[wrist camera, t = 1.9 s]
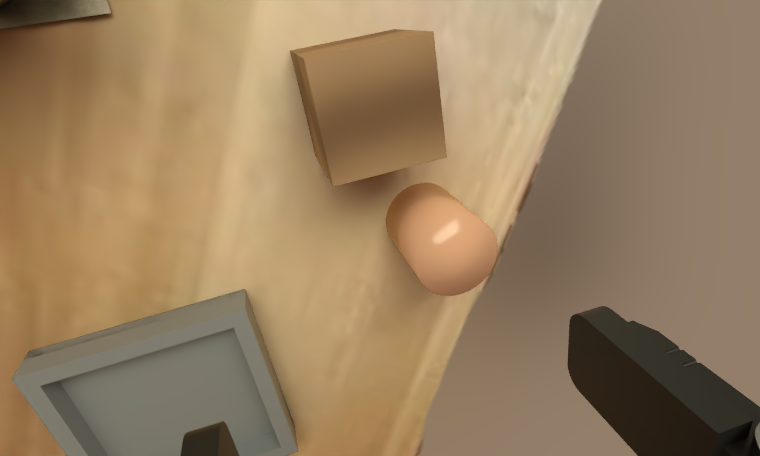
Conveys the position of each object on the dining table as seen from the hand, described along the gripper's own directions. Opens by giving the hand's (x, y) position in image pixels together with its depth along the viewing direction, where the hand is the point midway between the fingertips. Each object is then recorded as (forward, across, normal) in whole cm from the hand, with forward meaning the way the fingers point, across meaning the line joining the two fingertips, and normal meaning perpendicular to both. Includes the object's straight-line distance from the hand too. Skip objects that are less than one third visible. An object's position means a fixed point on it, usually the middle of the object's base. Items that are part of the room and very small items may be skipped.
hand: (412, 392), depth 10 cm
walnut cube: (+20, -4, -3) cm, 20 cm away
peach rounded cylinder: (+20, -7, +6) cm, 22 cm away
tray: (+20, +12, +14) cm, 27 cm away
